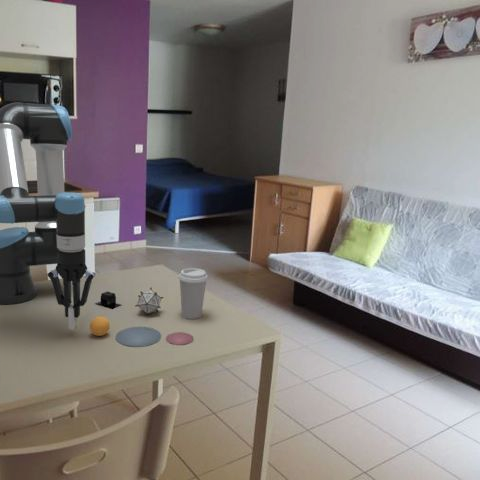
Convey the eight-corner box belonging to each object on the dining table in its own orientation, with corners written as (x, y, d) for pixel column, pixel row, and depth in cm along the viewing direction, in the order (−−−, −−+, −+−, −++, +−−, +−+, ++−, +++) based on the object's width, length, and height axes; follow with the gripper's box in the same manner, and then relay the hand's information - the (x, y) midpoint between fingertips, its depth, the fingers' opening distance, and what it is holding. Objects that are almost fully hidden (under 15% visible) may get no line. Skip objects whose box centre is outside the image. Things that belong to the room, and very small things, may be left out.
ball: (110, 327, 135) (100, 342, 136) (115, 320, 141) (105, 334, 142) (94, 317, 135) (83, 331, 135) (99, 310, 140) (89, 324, 141)
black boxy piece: (129, 307, 162) (129, 294, 161) (114, 313, 156) (114, 300, 155) (102, 299, 168) (102, 286, 167) (86, 305, 161) (86, 292, 160)
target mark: (110, 345, 133) (110, 344, 133) (121, 326, 145) (121, 325, 145) (157, 348, 133) (157, 347, 133) (163, 328, 146) (163, 327, 146)
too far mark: (164, 344, 136) (164, 343, 136) (167, 332, 143) (167, 331, 143) (192, 345, 136) (192, 345, 136) (194, 333, 144) (194, 333, 144)
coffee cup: (199, 308, 163) (201, 266, 160) (210, 318, 155) (212, 275, 152) (173, 311, 159) (174, 268, 156) (183, 322, 151) (184, 277, 147)
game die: (147, 321, 159) (151, 292, 163) (166, 318, 155) (170, 289, 159) (127, 314, 153) (132, 284, 157) (146, 311, 148) (151, 281, 152)
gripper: (42, 251, 129) (45, 331, 134) (90, 253, 129) (91, 334, 135) (52, 244, 136) (54, 320, 142) (98, 246, 136) (98, 323, 142)
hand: (72, 327), depth 138 cm, fingers closed
